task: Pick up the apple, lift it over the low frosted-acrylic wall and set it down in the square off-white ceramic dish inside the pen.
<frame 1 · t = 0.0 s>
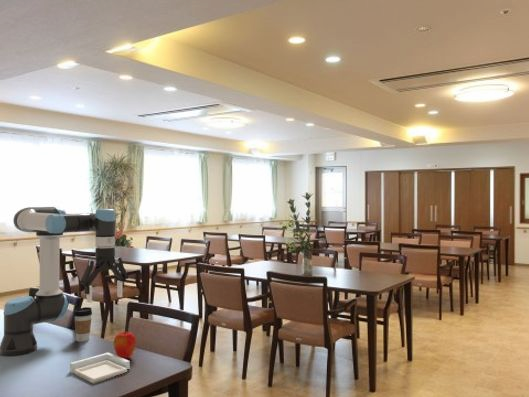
hand: (104, 299, 186), 28 cm above the table, fingers open, 13 cm apart
dish: (100, 373, 180), on the table
apple: (124, 358, 198), on the table
pen walls: (116, 365, 189), resting in dish
coffee cup: (82, 340, 223), on the table
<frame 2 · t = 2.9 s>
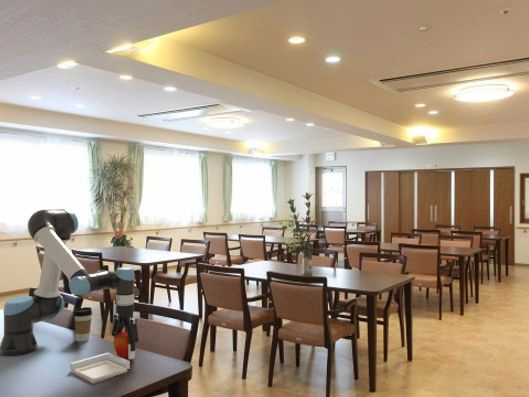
hand: (124, 355, 198), 1 cm above the table, fingers closed on apple, 9 cm apart
apple: (124, 358, 198), on the table, touching gripper
everything else where it was.
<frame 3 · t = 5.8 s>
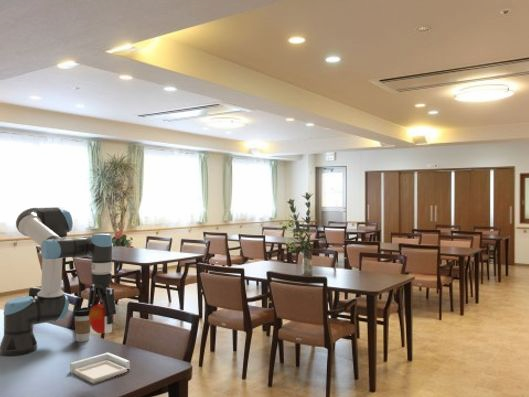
hand: (101, 329, 180), 17 cm above the table, fingers closed on apple, 9 cm apart
apple: (101, 333, 181), point 16 cm above the table, touching gripper
everything else where it was.
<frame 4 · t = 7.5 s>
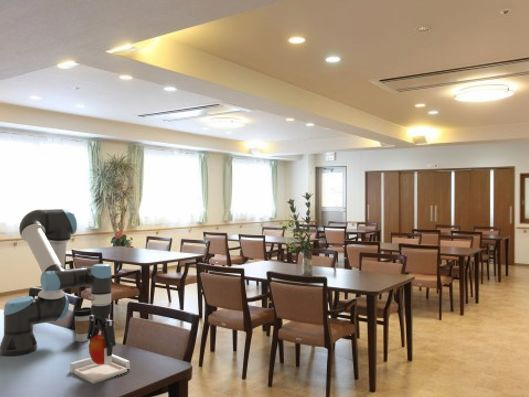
hand: (100, 360, 180), 5 cm above the table, fingers closed on apple, 9 cm apart
apple: (100, 364, 180), point 4 cm above the table, touching gripper
everything else where it was.
when the fingers open (4 cm above the table, at t = 8.7 s): apple drops 2 cm, resting on dish.
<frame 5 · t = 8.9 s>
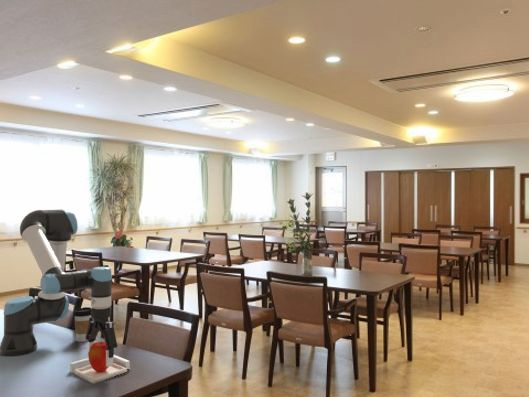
hand: (100, 361, 180), 5 cm above the table, fingers open, 12 cm apart
apple: (100, 371, 181), point 1 cm above the table, touching dish
everything else where it was.
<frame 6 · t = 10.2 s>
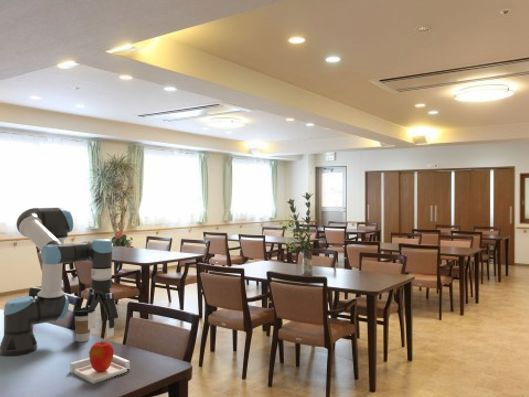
hand: (100, 332, 181), 16 cm above the table, fingers open, 13 cm apart
nothing on the table moved.
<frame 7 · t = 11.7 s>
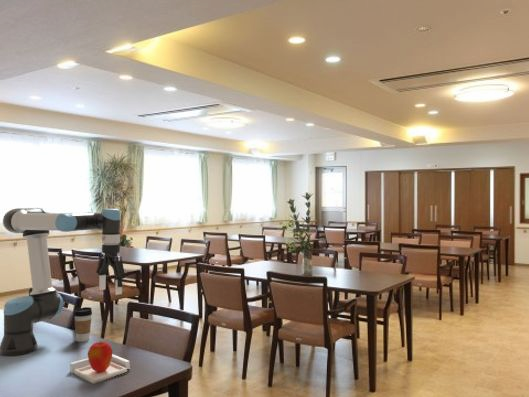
hand: (110, 292, 202), 28 cm above the table, fingers open, 13 cm apart
nothing on the table moved.
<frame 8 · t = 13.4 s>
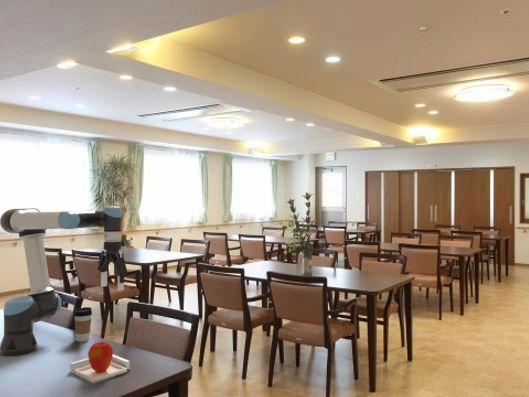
hand: (112, 288, 205), 29 cm above the table, fingers open, 13 cm apart
nothing on the table moved.
at the end: apple 0.2 cm from the dish (horizontally); apple point 0.6 cm above the table; the gripper is holding nothing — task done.
